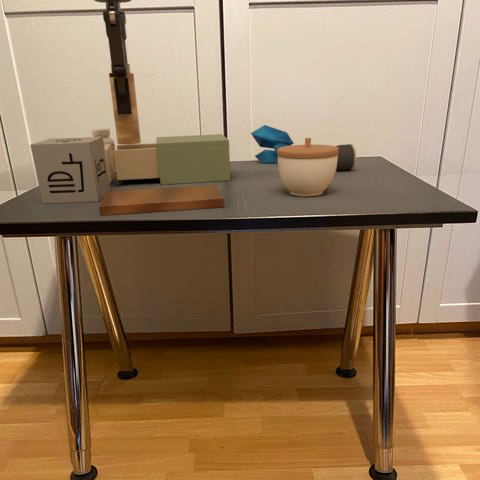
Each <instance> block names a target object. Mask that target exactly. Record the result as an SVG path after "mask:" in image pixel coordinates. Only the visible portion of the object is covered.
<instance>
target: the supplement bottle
mask: <svg viewBox="0 0 480 480" xmlns="http://www.w3.org/2000/svg"><path fill="white" fill-rule="evenodd" d="M91 133H92V137H103V141H104V146H105V144H111V148H112V155H113V162H114V169H115V174H116V167H115V160H114V153H113V150H116V145H115V140H114V139H113V138H111V129H110V128H94V129H91Z"/></svg>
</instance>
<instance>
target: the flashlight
mask: <svg viewBox="0 0 480 480" xmlns="http://www.w3.org/2000/svg"><path fill="white" fill-rule="evenodd" d="M335 146H336V147H338V148H339V153H338V160H337V168H336V171H352V170H354V168H355V167H356V163H357V149H356V146H355V145H354V144H352V143H347V144H338V145H335ZM350 169H351V170H350Z"/></svg>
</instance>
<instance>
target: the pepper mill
mask: <svg viewBox="0 0 480 480" xmlns="http://www.w3.org/2000/svg"><path fill="white" fill-rule="evenodd" d="M111 68H112V65H111V64H110V70H111ZM126 72H127V77H124V78H128V83H129V92H130V101H131V110H132V114H121V115H118V111H117V103H116V95H115V87H114V78H116V77H110V76H109V75H108V79H109V87H110V95H111V103H112V112H113V118H114V127H115V134H116V143H117V145H129V144H142V139H141V131H140V121H139V112H138V102H137V94H136V93H137V92H136V83H135V73H134V72H131V65H130V63H128V64H126ZM111 73H113V72H112V70H111Z"/></svg>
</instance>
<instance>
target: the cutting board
mask: <svg viewBox="0 0 480 480" xmlns="http://www.w3.org/2000/svg"><path fill="white" fill-rule="evenodd" d="M220 208H225V198H224V196H223V195H222V193H221V191H220V189H219V188H218V186H217V185H216V184H208V185H207V184H206V185H191V186H189V185H188V186H174V187H159V188H158V187H157V188H141V189H124V190H111V191H106V193H105V195H104V197H103V198H102V199H101V200H100V203H99V205H98V210H99V215H100V216H114V215H128V214H142V213H143V214H144V213H157V212H158V213H160V212H174V211H175V212H176V211H189V210H204V209H220Z"/></svg>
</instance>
